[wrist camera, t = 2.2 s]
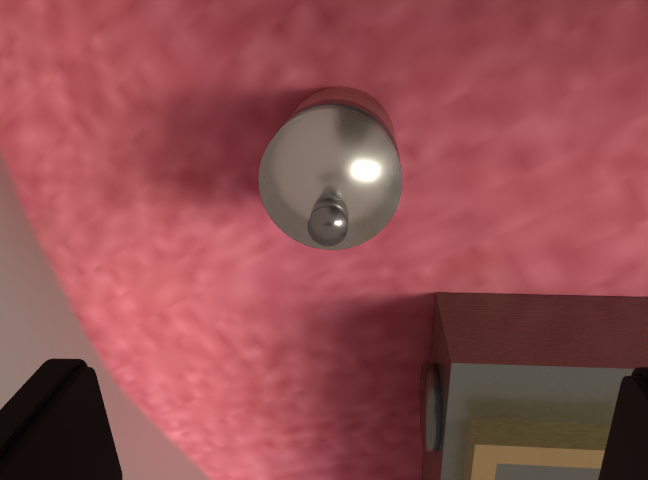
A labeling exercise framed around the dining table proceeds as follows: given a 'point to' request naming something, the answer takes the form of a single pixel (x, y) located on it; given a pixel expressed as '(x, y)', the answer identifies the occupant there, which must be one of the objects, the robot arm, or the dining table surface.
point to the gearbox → (526, 383)
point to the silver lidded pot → (332, 170)
